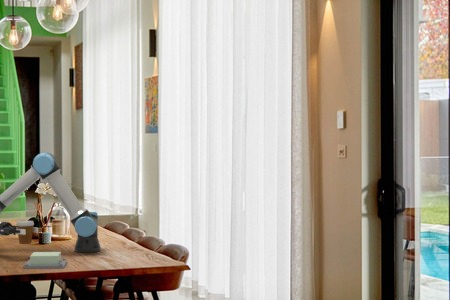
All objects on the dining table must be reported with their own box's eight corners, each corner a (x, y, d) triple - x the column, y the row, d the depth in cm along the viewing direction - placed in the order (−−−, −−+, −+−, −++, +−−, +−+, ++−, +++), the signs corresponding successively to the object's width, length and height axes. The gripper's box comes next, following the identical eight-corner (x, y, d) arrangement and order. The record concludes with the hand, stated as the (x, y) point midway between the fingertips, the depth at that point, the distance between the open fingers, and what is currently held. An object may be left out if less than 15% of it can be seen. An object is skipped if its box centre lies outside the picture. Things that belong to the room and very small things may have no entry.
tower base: (67, 262, 412) (67, 250, 412) (63, 268, 392) (63, 256, 392) (28, 262, 410) (29, 251, 409) (23, 268, 390) (23, 257, 390)
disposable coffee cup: (25, 245, 411) (24, 222, 411) (12, 244, 417) (12, 221, 416) (38, 243, 420) (37, 221, 419) (25, 241, 425) (25, 220, 424)
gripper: (17, 233, 437) (45, 236, 424) (-13, 237, 419) (16, 240, 407) (17, 220, 437) (45, 222, 424) (-13, 223, 419) (16, 226, 406)
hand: (31, 231), depth 415 cm, fingers closed on disposable coffee cup, 8 cm apart
